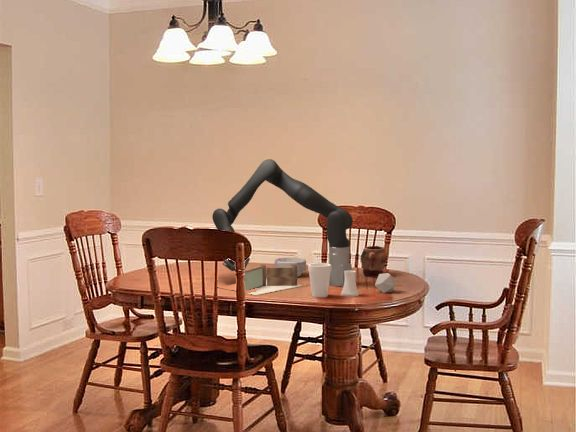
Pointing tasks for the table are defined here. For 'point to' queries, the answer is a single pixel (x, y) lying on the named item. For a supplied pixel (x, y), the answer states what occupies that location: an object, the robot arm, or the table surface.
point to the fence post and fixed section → (280, 276)
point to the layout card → (271, 289)
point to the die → (385, 283)
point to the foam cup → (319, 278)
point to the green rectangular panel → (253, 278)
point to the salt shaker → (350, 284)
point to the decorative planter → (373, 261)
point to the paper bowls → (290, 261)
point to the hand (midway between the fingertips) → (241, 277)
